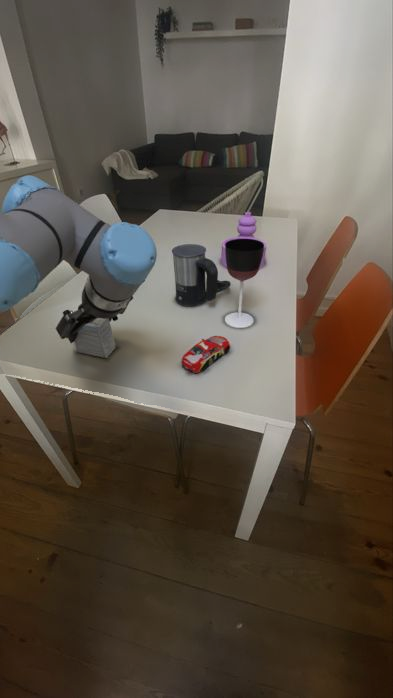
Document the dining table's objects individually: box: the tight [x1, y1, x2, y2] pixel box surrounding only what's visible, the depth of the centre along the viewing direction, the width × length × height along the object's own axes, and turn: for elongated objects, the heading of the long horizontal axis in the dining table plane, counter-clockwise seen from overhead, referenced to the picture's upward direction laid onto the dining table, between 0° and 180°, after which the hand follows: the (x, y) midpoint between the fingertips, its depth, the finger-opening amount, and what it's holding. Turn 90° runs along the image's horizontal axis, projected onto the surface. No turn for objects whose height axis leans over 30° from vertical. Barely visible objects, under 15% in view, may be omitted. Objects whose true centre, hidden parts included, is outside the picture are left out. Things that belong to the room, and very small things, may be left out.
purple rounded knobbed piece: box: [220, 211, 267, 269], centre depth 113 cm, size 25×15×13 cm, turn 169°
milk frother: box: [171, 243, 232, 307], centre depth 90 cm, size 14×16×15 cm
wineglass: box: [224, 239, 264, 329], centre depth 78 cm, size 8×9×20 cm
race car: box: [181, 335, 231, 374], centre depth 70 cm, size 13×5×4 cm, turn 137°
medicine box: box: [73, 318, 117, 359], centre depth 72 cm, size 8×4×9 cm, turn 71°
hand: (85, 330), depth 74 cm, fingers closed on medicine box, 7 cm apart
